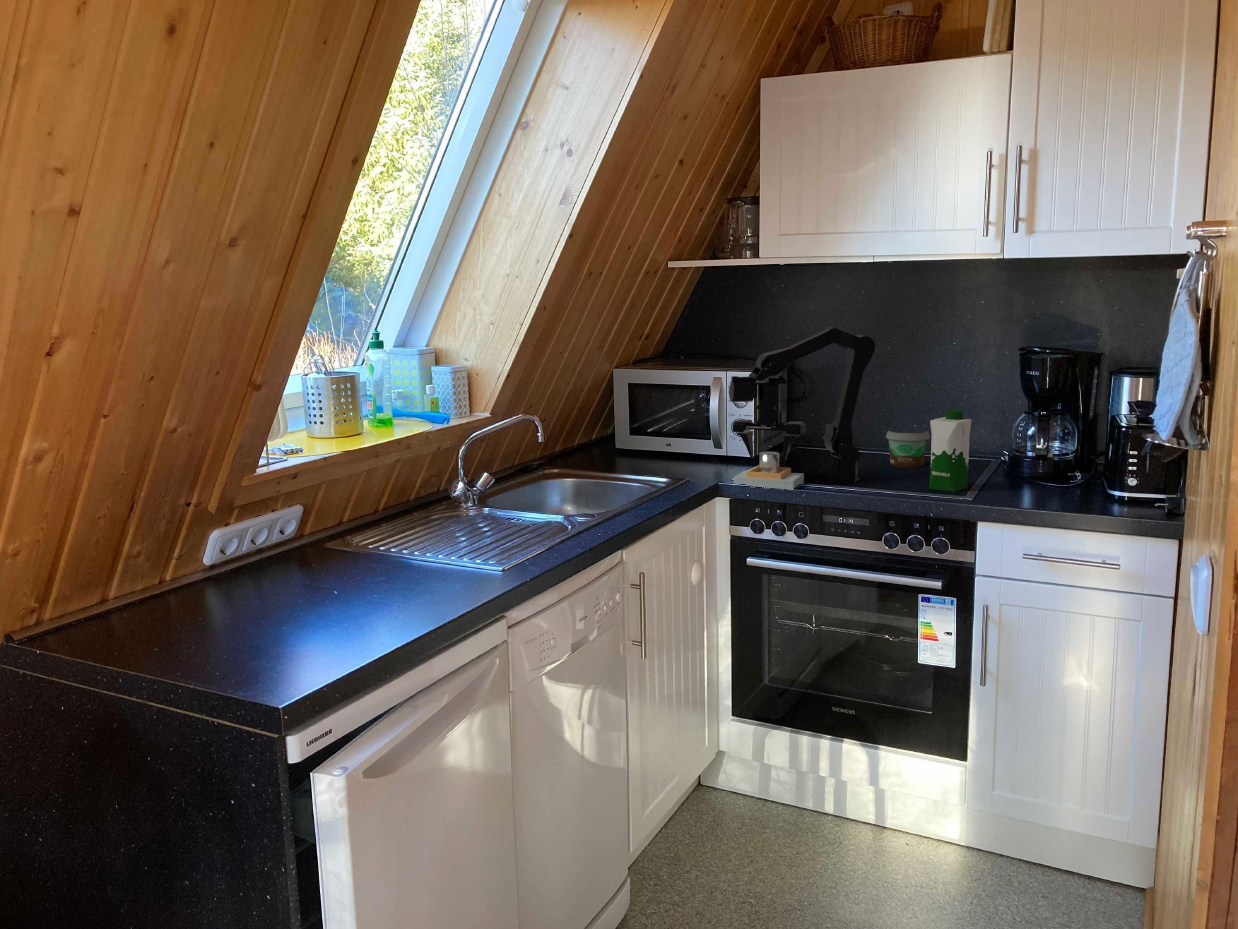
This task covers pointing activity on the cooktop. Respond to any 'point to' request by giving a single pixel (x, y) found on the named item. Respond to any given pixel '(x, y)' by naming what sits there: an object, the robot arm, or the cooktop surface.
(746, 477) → the grey slab with frame
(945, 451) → the milk carton
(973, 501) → the cooktop surface
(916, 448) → the food container
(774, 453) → the steel can
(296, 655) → the cooktop surface
